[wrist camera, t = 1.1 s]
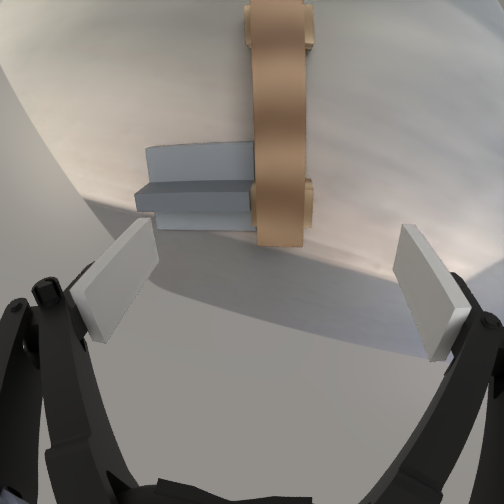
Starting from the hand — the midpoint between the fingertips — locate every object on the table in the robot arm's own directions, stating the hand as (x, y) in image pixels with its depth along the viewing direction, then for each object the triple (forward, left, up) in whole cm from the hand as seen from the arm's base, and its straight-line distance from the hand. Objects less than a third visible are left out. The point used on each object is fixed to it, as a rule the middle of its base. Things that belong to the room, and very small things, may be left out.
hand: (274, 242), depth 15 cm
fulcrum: (+3, -9, -18) cm, 21 cm away
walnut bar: (-5, 0, -14) cm, 15 cm away
